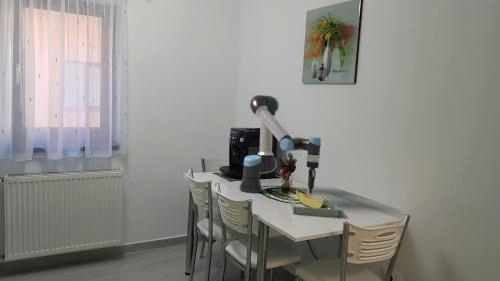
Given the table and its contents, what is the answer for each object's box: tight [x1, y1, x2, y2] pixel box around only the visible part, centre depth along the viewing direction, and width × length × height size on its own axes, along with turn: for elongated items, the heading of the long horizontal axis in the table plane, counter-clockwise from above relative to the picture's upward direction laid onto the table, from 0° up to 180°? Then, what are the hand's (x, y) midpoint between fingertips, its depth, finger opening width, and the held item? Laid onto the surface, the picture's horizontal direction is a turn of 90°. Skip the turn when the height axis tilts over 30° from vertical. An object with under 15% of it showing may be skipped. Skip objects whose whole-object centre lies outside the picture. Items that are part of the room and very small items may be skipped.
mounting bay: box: [290, 198, 342, 218], centre depth 215 cm, size 17×26×5 cm, turn 89°
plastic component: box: [295, 189, 329, 208], centre depth 230 cm, size 20×7×10 cm
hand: (309, 197), depth 238 cm, fingers closed
